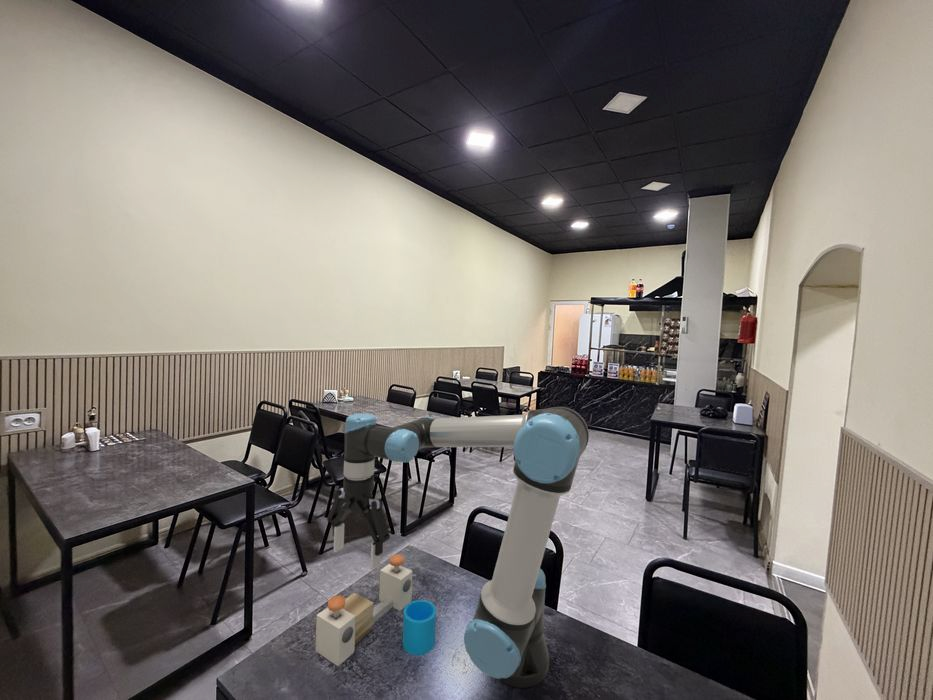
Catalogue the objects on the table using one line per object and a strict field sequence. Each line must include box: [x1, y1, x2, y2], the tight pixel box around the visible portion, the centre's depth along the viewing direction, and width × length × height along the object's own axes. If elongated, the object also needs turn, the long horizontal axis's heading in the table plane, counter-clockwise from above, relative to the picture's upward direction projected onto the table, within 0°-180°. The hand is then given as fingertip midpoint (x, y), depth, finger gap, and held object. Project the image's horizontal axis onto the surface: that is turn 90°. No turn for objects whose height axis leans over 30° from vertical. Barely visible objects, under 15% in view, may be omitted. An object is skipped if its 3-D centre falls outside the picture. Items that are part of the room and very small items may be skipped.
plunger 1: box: [327, 594, 346, 620], centre depth 94 cm, size 4×4×5 cm
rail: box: [373, 597, 393, 625], centre depth 103 cm, size 2×17×2 cm, turn 149°
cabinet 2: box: [378, 563, 413, 612], centre depth 113 cm, size 8×5×9 cm, turn 59°
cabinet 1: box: [315, 606, 356, 667], centre depth 94 cm, size 8×5×9 cm, turn 59°
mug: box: [402, 599, 437, 656], centre depth 100 cm, size 12×8×8 cm
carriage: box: [342, 592, 374, 645], centre depth 99 cm, size 7×6×8 cm
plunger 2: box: [389, 554, 405, 574], centre depth 112 cm, size 4×4×5 cm
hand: (356, 558), depth 98 cm, fingers open, 12 cm apart
